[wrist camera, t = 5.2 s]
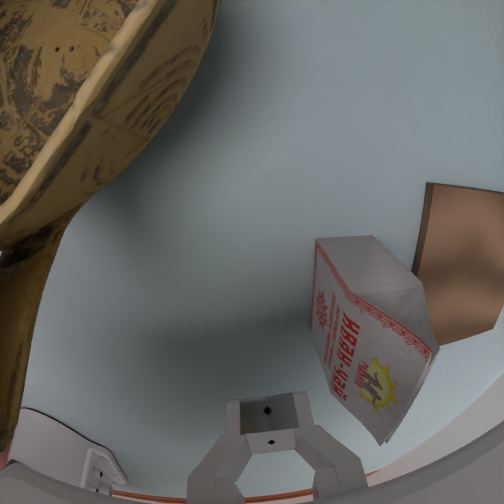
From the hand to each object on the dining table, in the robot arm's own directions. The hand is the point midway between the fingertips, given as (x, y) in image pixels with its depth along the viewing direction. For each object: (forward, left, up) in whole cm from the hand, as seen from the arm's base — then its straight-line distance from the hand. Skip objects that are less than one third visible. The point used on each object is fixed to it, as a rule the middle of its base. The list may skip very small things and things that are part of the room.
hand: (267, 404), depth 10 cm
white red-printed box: (0, -6, -9) cm, 10 cm away
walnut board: (0, -18, -9) cm, 20 cm away
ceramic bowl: (+15, +9, -9) cm, 20 cm away
